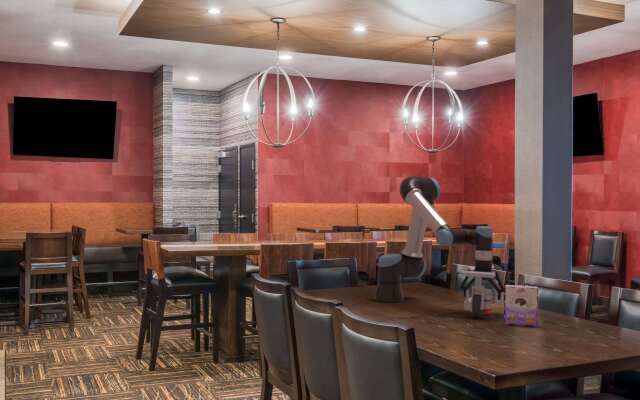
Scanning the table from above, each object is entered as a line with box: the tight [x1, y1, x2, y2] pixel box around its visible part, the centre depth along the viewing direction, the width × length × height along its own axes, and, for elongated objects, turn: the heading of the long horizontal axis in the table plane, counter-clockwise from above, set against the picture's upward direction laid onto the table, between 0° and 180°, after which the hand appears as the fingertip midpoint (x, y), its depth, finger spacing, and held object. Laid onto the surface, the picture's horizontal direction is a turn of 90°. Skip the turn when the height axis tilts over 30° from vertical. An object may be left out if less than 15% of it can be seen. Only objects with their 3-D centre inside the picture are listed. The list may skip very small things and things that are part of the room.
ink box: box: [470, 287, 494, 316], centre depth 319 cm, size 8×5×12 cm, turn 39°
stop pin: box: [493, 285, 505, 306], centre depth 327 cm, size 4×4×12 cm
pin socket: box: [492, 303, 504, 315], centre depth 327 cm, size 9×9×3 cm
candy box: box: [503, 284, 539, 328], centre depth 292 cm, size 14×6×16 cm, turn 71°
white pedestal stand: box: [460, 270, 496, 318], centre depth 309 cm, size 14×10×20 cm
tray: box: [463, 296, 472, 312], centre depth 333 cm, size 16×10×4 cm, turn 157°
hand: (481, 305), depth 319 cm, fingers open, 13 cm apart
